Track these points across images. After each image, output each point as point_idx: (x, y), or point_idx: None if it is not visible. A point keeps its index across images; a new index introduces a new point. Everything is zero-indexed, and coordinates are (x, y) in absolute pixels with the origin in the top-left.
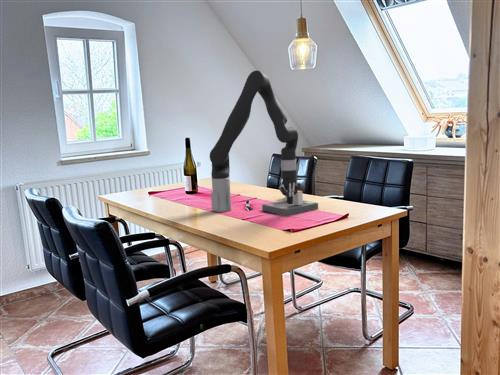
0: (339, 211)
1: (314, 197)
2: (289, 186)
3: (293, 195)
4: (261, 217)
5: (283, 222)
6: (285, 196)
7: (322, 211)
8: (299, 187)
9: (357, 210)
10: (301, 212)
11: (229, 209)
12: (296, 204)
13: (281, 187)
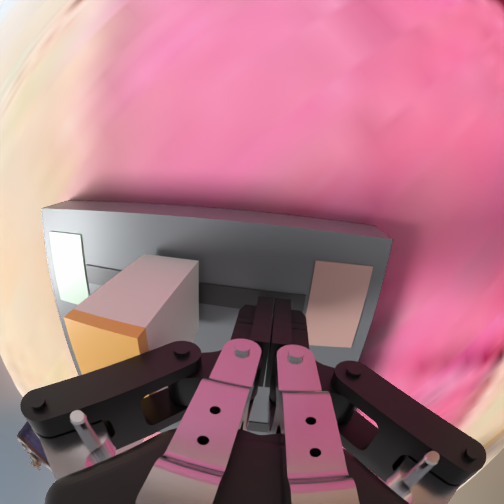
0: (60, 55)
1: (9, 360)
2: (344, 479)
3: (227, 343)
4: (461, 328)
5: (499, 131)
6: (143, 438)
7: (98, 117)
8: (27, 426)
9: (24, 33)
10: (215, 208)
11: (380, 478)
12: (198, 287)
13: (483, 460)
